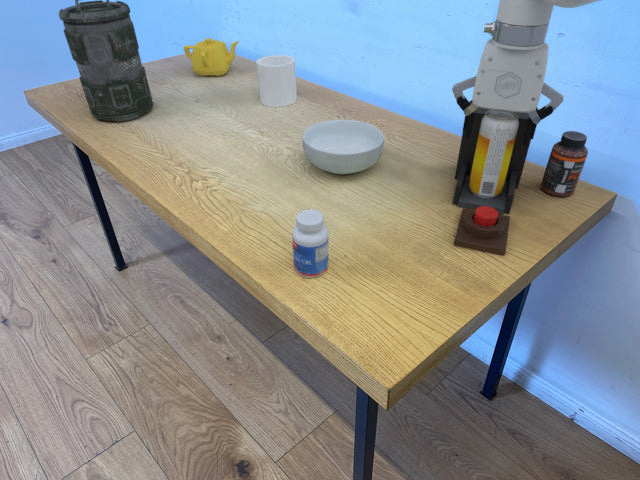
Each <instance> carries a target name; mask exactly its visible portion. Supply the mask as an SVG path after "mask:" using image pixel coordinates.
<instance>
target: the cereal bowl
mask: <svg viewBox="0 0 640 480" xmlns="http://www.w3.org/2000/svg"><path fill="white" fill-rule="evenodd" d="M301 140H302V141H301V142H302V149H303V153H304V155H305V157H306V158H307V160H308V161H309V162H310V163H311V164H312V165H313V166H314V167H316V168H318V169H320V170H322V171H325V172H328V173H331V174H334V175H344V176H345V175H351V174H354V173H359V172H362V171H365V170H367V169H369V168H370V167H373V165H375V164H376V163H377V161H379V159H380V157H381V156H382V153H383V150H384V147H385V146H384V145H385V136H384V132H383V131H382V130H381V129H380V128H378V127H377V126H375V125H374V124H371V123H368V122H366V121H361V120H355V119H330V120H324V121H319V122H317V123H314V124H312V125H310V126H308V127H307V128H305V130H303V133H302V137H301Z"/></svg>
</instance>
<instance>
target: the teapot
mask: <svg viewBox="0 0 640 480" xmlns="http://www.w3.org/2000/svg"><path fill="white" fill-rule="evenodd" d="M239 43H240V40H238V41H233V42H232V43H231V44H230V48H229V49H230V50H229V49H228V47H227V44H226V42H225V41H221V40H218V39H213V38H212V37H211V38H210V37H209V38H204V40H202V41H201V40H200V41H198V42H197V43H195V44H194V45H189V44H188V45H187V44H185V45H184V46H183V51H184V53H185V55H186V56H187V57H188V59H190V60H191V68H192V71H193V72H194V73H195V75H197V76H198V75H200V77H207V76H215V77H222V76H223V75H225V74H227V73H228V72H229V71H230V69H231V66H232V63H233V62H234V60H235V57H236V46H237V44H239ZM190 49H191V50H192V52H191V51H190Z"/></svg>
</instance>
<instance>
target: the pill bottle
mask: <svg viewBox="0 0 640 480" xmlns="http://www.w3.org/2000/svg"><path fill="white" fill-rule="evenodd" d="M291 237H292V238H291V239H292V240H291V242H292V255H293V268H294V271H295V273H296V274H298V275H299V276H301V277H303V278H307V279H314V278H319V277H321V276H323V275H324V274H325V273H326V272H327V271H328V269H329V249H330V248H329V247H330V246H329V245H330V244H329V240H330V239H329V230H328V227H327V226H326V225H325V216H324V214H323V213H322V212H321V211H319V210H317V209H309V208H308V209H304V210H301V211H299V212H298V213H297V214H296V217H295V226H294V227H293V228H292V232H291Z"/></svg>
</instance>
